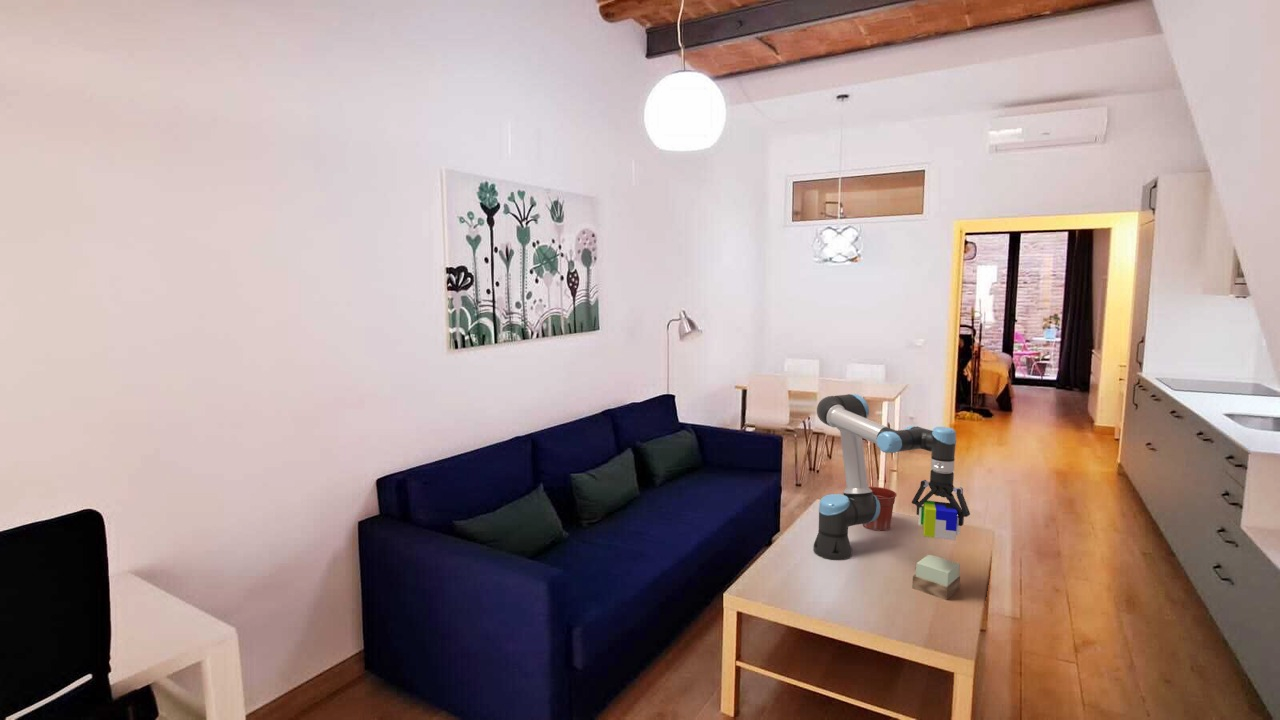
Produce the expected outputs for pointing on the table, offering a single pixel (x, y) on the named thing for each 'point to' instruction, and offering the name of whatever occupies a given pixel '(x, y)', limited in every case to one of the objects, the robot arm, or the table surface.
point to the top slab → (937, 570)
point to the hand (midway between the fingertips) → (938, 528)
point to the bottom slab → (935, 587)
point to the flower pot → (882, 508)
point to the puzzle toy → (939, 520)
